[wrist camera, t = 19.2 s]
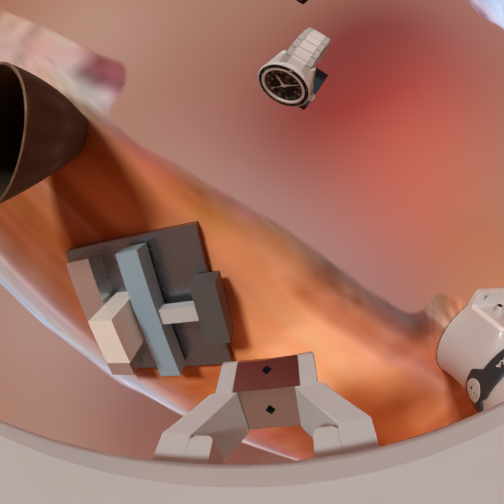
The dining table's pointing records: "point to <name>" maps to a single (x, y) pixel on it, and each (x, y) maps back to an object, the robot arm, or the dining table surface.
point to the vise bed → (169, 279)
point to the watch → (296, 71)
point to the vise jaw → (173, 308)
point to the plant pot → (34, 130)
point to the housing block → (117, 329)
